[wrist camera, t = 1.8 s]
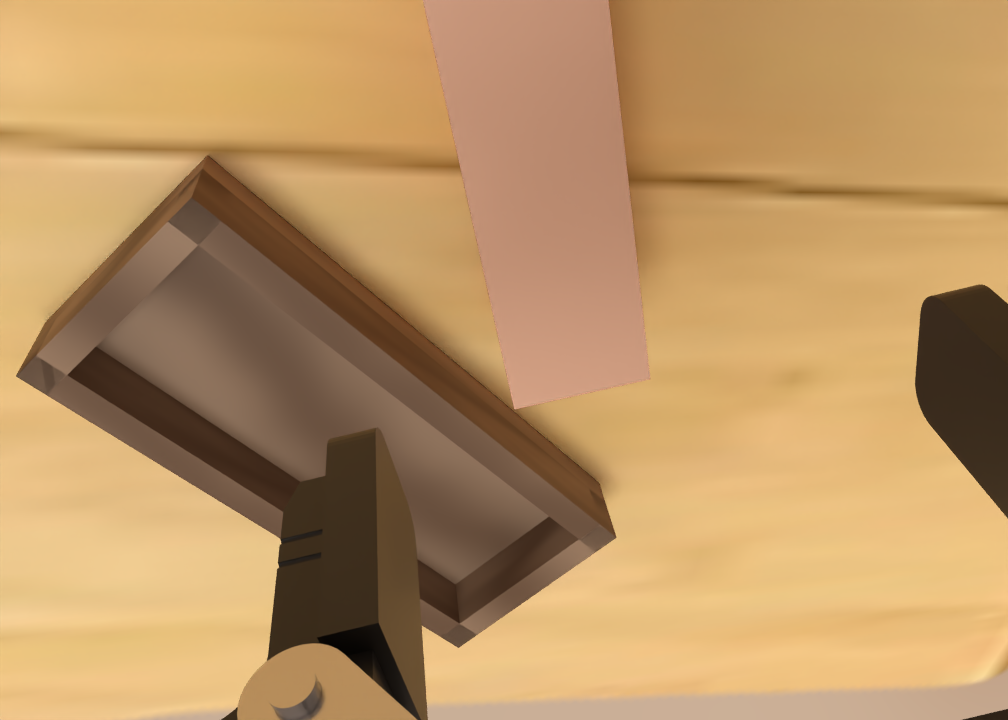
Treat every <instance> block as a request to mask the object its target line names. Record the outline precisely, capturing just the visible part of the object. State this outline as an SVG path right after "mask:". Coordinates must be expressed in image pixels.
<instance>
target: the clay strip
mask: <svg viewBox="0 0 1008 720" xmlns="http://www.w3.org/2000/svg"><path fill="white" fill-rule="evenodd" d="M423 3H424V7H425V12H426V16H427V21H428V25H429V30H430V34H431V39H432V43H433V48H434V52H435V57H436V61H437V65H438V70H439V74H440V79H441V83H442V88H443V92H444V97H445V101H446V106H447V110H448V115H449V119H450V124H451V128H452V133H453V137H454V142H455V146H456V151H457V155H458V159H459V164H460V168H461V173H462V177H463V182H464V186H465V191H466V195H467V200H468V204H469V209H470V213H471V218H472V222H473V227H474V231H475V236H476V240H477V245H478V249H479V253H480V258H481V262H482V267H483V271H484V276H485V280H486V285H487V289H488V294H489V298H490V303H491V307H492V312H493V316H494V321H495V325H496V330H497V334H498V339H499V343H500V347H501V352H502V356H503V361H504V365H505V370H506V374H507V379H508V383H509V388H510V392H511V397H512V401H513V406H514V409H519V408H523V407H528V406H532V405H537V404H541V403H546V402H550V401H555V400H559V399H564V398H568V397H573V396H577V395H582V394H586V393H591V392H595V391H599V390H604V389H608V388H613V387H617V386H622V385H626V384H631V383H635V382H640V381H644V380H649V379H650V372H649V363H648V354H647V345H646V336H645V327H644V318H643V309H642V300H641V291H640V282H639V272H638V263H637V254H636V245H635V236H634V227H633V218H632V209H631V200H630V191H629V182H628V173H627V164H626V155H625V145H624V136H623V127H622V118H621V109H620V100H619V91H618V82H617V73H616V64H615V55H614V46H613V37H612V27H611V18H610V9H609V0H423Z"/></svg>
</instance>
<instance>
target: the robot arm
mask: <svg viewBox="0 0 1008 720" xmlns="http://www.w3.org/2000/svg"><path fill="white" fill-rule="evenodd" d="M915 387H916V394H917V399H918V402H919V405H920V408H921V410H922V413H923V415H924V417H925V418H926V420H927V421H928V423H929V424H930V425H931V427H932V428H933V429H934V430H935V431H936V433H937V434H938V435H939V436H940V437H941V439H942V440H943V441H944V442H945V443H946V445H947V446H948V447H949V448H950V449H951V451H952V452H953V453H954V454H955V455H956V457H957V458H958V459H959V460H960V461H961V463H962V464H963V465H964V466H965V467H966V469H967V470H968V471H969V472H970V473H971V475H972V476H973V477H974V478H975V479H976V481H977V482H978V483H979V484H980V485H981V487H982V488H983V489H984V490H985V491H986V493H987V494H988V495H989V496H990V497H991V499H992V500H993V501H994V502H995V503H996V505H997V506H998V507H999V508H1000V509H1001V511H1002V512H1003V513H1004V514H1005V515H1006V517H1007V518H1008V304H1007V303H1006V302H1005V301H1004V300H1003V299H1002V298H1000V297H999V296H998V295H997V294H996V293H995V292H993V291H992V290H991V289H990V288H988V287H987V286H985V285H975V286H971V287H967V288H963V289H959V290H954V291H950V292H946V293H942V294H938V295H934V296H929V297H927V298H926V299H925V300H924V302H923V304H922V307H921V314H920V327H919V340H918V352H917V365H916V378H915ZM281 543H282V544H281V545H280V548H279V558H278V564H279V568H278V569H277V577H276V586H275V596H274V605H273V615H272V624H271V634H270V643H269V653H268V658H267V662H265V663H264V664H263V665H262V666H261V667H260V668H259V669H258V670H257V671H256V672H255V673H254V674H253V676H252V677H251V678H250V680H249V681H248V683H247V684H246V686H245V687H244V690H243V692H242V694H241V696H240V700H239V704H238V707H237V708H236V709H235V710H234V711H232V712H231V713H230V714H229V715H227V716H226V717H225V718H223V719H222V720H428V717H427V702H426V686H425V671H424V656H423V640H422V625H421V610H420V594H419V579H418V564H417V548H416V538H415V531H414V526H413V521H412V517H411V513H410V509H409V505H408V502H407V499H406V497H405V494H404V491H403V488H402V486H401V483H400V480H399V477H398V475H397V472H396V469H395V466H394V464H393V461H392V458H391V455H390V453H389V450H388V447H387V444H386V442H385V439H384V436H383V434H382V432H381V430H380V429H379V428H378V427H377V428H373V429H369V430H364V431H360V432H356V433H352V434H348V435H344V436H339V437H335V438H331V439H329V440H328V443H327V454H326V473H325V476H322V477H318V478H314V479H310V480H306V481H302V482H300V483H299V485H298V487H297V488H296V490H295V492H294V493H293V495H292V497H291V498H290V500H289V502H288V504H287V505H286V507H285V509H284V510H283V520H282V529H281ZM964 720H1008V709H1006V710H1002V711H997V712H993V713H989V714H985V715H981V716H977V717H973V718H968V719H964Z"/></svg>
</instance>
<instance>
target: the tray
mask: <svg viewBox="0 0 1008 720" xmlns="http://www.w3.org/2000/svg"><path fill="white" fill-rule="evenodd" d="M16 377H18V378H20V379H21V380H23V381H25V382H26V383H28V384H29V385H31V386H33V387H34V388H36V389H38V390H39V391H41V392H42V393H44V394H46V395H47V396H49V397H51V398H52V399H54V400H55V401H57V402H59V403H60V404H62V405H64V406H65V407H67V408H69V409H70V410H72V411H73V412H75V413H77V414H78V415H80V416H82V417H83V418H85V419H86V420H88V421H90V422H91V423H93V424H95V425H96V426H98V427H99V428H101V429H103V430H104V431H106V432H108V433H109V434H111V435H113V436H114V437H116V438H117V439H119V440H121V441H122V442H124V443H126V444H127V445H129V446H130V447H132V448H134V449H135V450H137V451H139V452H140V453H142V454H144V455H145V456H147V457H148V458H150V459H152V460H153V461H155V462H157V463H158V464H160V465H161V466H163V467H165V468H166V469H168V470H170V471H171V472H173V473H174V474H176V475H178V476H179V477H181V478H183V479H184V480H186V481H188V482H189V483H191V484H192V485H194V486H196V487H197V488H199V489H201V490H202V491H204V492H205V493H207V494H209V495H210V496H212V497H214V498H215V499H217V500H218V501H220V502H222V503H223V504H225V505H227V506H228V507H230V508H232V509H233V510H235V511H236V512H238V513H240V514H241V515H243V516H245V517H246V518H248V519H249V520H251V521H253V522H254V523H256V524H258V525H259V526H261V527H263V528H264V529H266V530H267V531H269V532H271V533H272V534H274V535H276V536H277V537H279V538H280V539H281V529H282V520H283V510H284V509H285V507H286V505H287V504H288V502H289V500H290V498H291V497H292V495H293V493H294V492H295V490H296V488H297V487H298V485H299V483H300V482H302V481H306V480H310V479H314V478H318V477H322V476H325V473H326V454H327V443H328V440H329V439H331V438H335V437H339V436H344V435H348V434H352V433H356V432H360V431H364V430H369V429H373V428H377V427H378V428H379V429H380V430H381V432H382V434H383V436H384V439H385V442H386V444H387V447H388V450H389V453H390V455H391V458H392V461H393V464H394V466H395V469H396V472H397V475H398V477H399V480H400V483H401V486H402V488H403V491H404V494H405V497H406V499H407V502H408V505H409V509H410V513H411V517H412V521H413V526H414V531H415V538H416V548H417V564H418V579H419V594H420V610H421V625H422V626H424V627H426V628H427V629H429V630H430V631H432V632H434V633H435V634H437V635H439V636H440V637H442V638H443V639H445V640H447V641H448V642H450V643H452V644H453V645H455V646H457V647H458V648H459V647H460V646H462V645H463V644H465V643H466V642H467V641H469V640H470V639H472V638H473V637H475V636H476V635H478V634H479V633H480V632H482V631H483V630H485V629H486V628H488V627H489V626H490V625H492V624H493V623H495V622H496V621H498V620H499V619H500V618H502V617H503V616H505V615H506V614H508V613H509V612H510V611H512V610H513V609H515V608H516V607H518V606H519V605H520V604H522V603H523V602H525V601H526V600H528V599H529V598H531V597H532V596H533V595H535V594H536V593H538V592H539V591H541V590H542V589H543V588H545V587H546V586H548V585H549V584H551V583H552V582H553V581H555V580H556V579H558V578H559V577H561V576H562V575H563V574H565V573H566V572H568V571H569V570H571V569H572V568H574V567H575V566H576V565H578V564H579V563H581V562H582V561H584V560H585V559H586V558H588V557H589V556H591V555H592V554H594V553H595V552H596V551H598V550H599V549H601V548H602V547H604V546H605V545H606V544H608V543H609V542H611V541H612V540H614V539H615V538H616V535H615V532H614V528H613V525H612V522H611V519H610V516H609V513H608V510H607V506H606V503H605V500H604V497H603V494H602V491H601V488H600V484H599V483H598V482H597V481H596V480H595V479H593V478H592V477H591V476H590V475H589V474H587V473H586V472H585V471H584V470H583V469H581V468H580V467H579V466H578V465H577V464H576V463H574V462H573V461H572V460H571V459H570V458H568V457H567V456H566V455H565V454H564V453H562V452H561V451H560V450H559V449H558V448H556V447H555V446H554V445H553V444H552V443H550V442H549V441H548V440H547V439H546V438H544V437H543V436H542V435H541V434H540V433H538V432H537V431H536V430H535V429H534V428H532V427H531V426H530V425H529V424H528V423H527V422H525V421H524V420H523V419H522V418H521V417H519V416H518V415H517V414H516V413H515V412H513V411H512V410H511V409H510V408H509V407H507V406H506V405H505V404H504V403H503V402H501V401H500V400H499V399H498V398H497V397H495V396H494V395H493V394H492V393H491V392H489V391H488V390H487V389H486V388H485V387H483V386H482V385H481V384H480V383H479V382H478V381H476V380H475V379H474V378H473V377H472V376H470V375H469V374H468V373H467V372H466V371H464V370H463V369H462V368H461V367H460V366H458V365H457V364H456V363H455V362H454V361H452V360H451V359H450V358H449V357H448V356H446V355H445V354H444V353H443V352H442V351H440V350H439V349H438V348H437V347H436V346H434V345H433V344H432V343H431V342H430V341H429V340H427V339H426V338H425V337H424V336H423V335H421V334H420V333H419V332H418V331H417V330H415V329H414V328H413V327H412V326H411V325H409V324H408V323H407V322H406V321H405V320H403V319H402V318H401V317H400V316H399V315H397V314H396V313H395V312H394V311H393V310H391V309H390V308H389V307H388V306H387V305H385V304H384V303H383V302H382V301H381V300H380V299H378V298H377V297H376V296H375V295H374V294H372V293H371V292H370V291H369V290H368V289H366V288H365V287H364V286H363V285H362V284H360V283H359V282H358V281H357V280H356V279H354V278H353V277H352V276H351V275H350V274H348V273H347V272H346V271H345V270H344V269H342V268H341V267H340V266H339V265H338V264H336V263H335V262H334V261H333V260H332V259H331V258H329V257H328V256H327V255H326V254H325V253H323V252H322V251H321V250H320V249H319V248H317V247H316V246H315V245H314V244H313V243H311V242H310V241H309V240H308V239H307V238H305V237H304V236H303V235H302V234H301V233H299V232H298V231H297V230H296V229H295V228H293V227H292V226H291V225H290V224H289V223H287V222H286V221H285V220H284V219H283V218H282V217H280V216H279V215H278V214H277V213H276V212H274V211H273V210H272V209H271V208H270V207H268V206H267V205H266V204H265V203H264V202H262V201H261V200H260V199H259V198H258V197H256V196H255V195H254V194H253V193H252V192H250V191H249V190H248V189H247V188H246V187H244V186H243V185H242V184H241V183H240V182H238V181H237V180H236V179H235V178H234V177H233V176H231V175H230V174H229V173H228V172H227V171H225V170H224V169H223V168H222V167H221V166H219V165H218V164H217V163H216V162H215V161H213V160H212V159H211V158H210V157H209V156H207V157H206V158H205V159H204V160H203V161H202V162H201V163H200V164H199V165H198V166H197V167H196V168H195V169H194V170H193V171H192V172H191V173H190V174H189V175H188V176H187V177H186V178H185V179H184V180H183V181H182V182H181V183H180V184H179V185H178V186H177V188H176V189H175V190H174V191H173V192H172V193H171V194H170V195H169V196H168V197H167V198H166V199H165V200H164V201H163V202H162V203H161V204H160V205H159V206H158V207H157V208H156V209H155V210H154V211H153V212H152V213H151V214H150V215H149V216H148V217H147V218H146V219H145V220H144V222H143V223H142V224H141V225H140V226H139V227H138V228H137V229H136V230H135V231H134V232H133V233H132V234H131V235H130V236H129V237H128V238H127V239H126V240H125V241H124V242H123V243H122V244H121V245H120V246H119V247H118V248H117V249H116V250H115V251H114V252H113V253H112V255H111V256H110V257H109V258H108V259H107V260H106V261H105V262H104V263H103V264H102V265H101V266H100V267H99V268H98V269H97V270H96V271H95V272H94V273H93V274H92V275H91V276H90V277H89V278H88V279H87V280H86V281H85V282H84V283H83V284H82V285H81V286H80V287H79V289H78V290H77V291H76V292H75V293H74V294H73V295H72V296H71V297H70V298H69V299H68V300H67V301H66V302H65V303H64V304H63V305H62V306H61V307H60V308H59V309H58V310H57V311H56V312H55V313H54V314H53V315H52V316H51V317H50V318H49V319H48V320H47V322H46V323H45V324H44V326H43V328H42V330H41V332H40V333H39V335H38V337H37V339H36V341H35V342H34V344H33V346H32V348H31V350H30V351H29V353H28V355H27V357H26V359H25V361H24V362H23V364H22V366H21V368H20V370H19V371H18V373H17V375H16Z"/></svg>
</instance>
